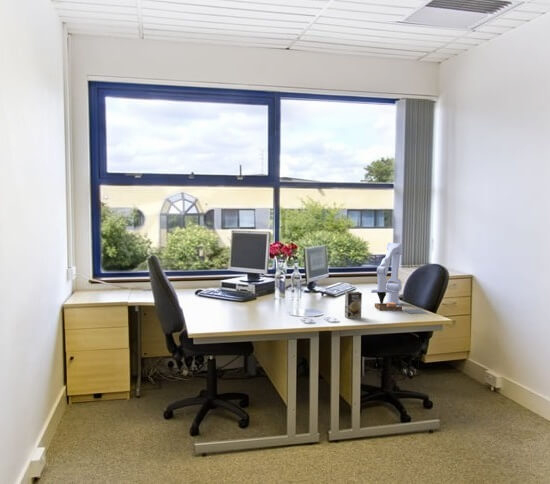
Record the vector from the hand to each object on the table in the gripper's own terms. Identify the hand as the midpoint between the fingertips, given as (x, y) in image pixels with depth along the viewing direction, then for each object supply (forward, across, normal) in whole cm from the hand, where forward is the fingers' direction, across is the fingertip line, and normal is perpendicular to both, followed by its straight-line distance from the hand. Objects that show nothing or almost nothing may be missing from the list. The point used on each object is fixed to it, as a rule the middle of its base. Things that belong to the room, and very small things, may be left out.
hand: (381, 303), depth 335 cm
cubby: (+4, +5, 0) cm, 6 cm away
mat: (+4, +20, -10) cm, 23 cm away
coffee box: (+4, -26, -24) cm, 36 cm away
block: (+4, +7, 0) cm, 8 cm away
